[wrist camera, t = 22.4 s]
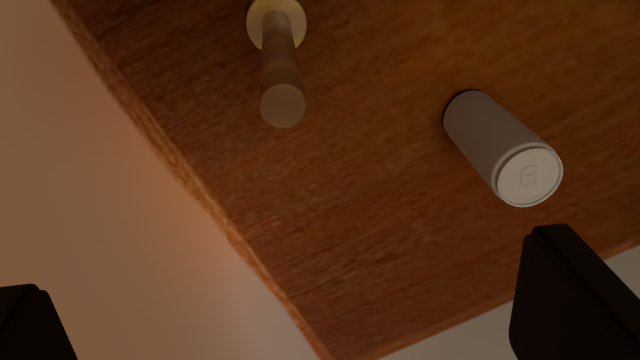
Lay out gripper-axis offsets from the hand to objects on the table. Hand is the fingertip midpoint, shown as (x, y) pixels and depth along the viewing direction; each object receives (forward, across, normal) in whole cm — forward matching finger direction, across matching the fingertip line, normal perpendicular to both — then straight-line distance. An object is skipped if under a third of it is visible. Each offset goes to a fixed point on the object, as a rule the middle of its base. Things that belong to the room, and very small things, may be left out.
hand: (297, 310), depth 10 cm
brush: (+32, 0, 0) cm, 32 cm away
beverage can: (+32, -16, +10) cm, 38 cm away
